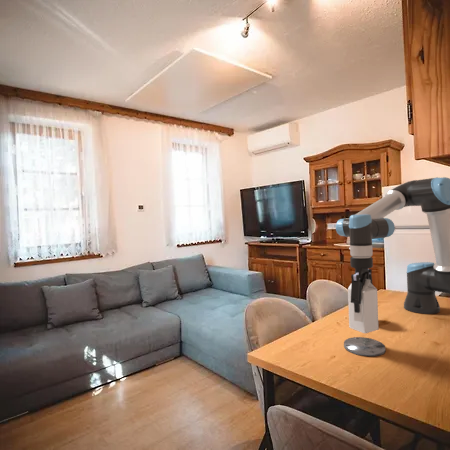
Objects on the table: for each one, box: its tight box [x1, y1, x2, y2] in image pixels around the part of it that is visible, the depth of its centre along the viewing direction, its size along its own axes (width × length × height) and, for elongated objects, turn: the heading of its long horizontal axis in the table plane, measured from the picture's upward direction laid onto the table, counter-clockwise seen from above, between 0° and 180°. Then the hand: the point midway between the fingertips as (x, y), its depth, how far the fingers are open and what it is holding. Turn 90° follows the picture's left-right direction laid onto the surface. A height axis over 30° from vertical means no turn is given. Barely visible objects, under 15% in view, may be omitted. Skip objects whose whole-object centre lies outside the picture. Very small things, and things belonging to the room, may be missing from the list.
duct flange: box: [343, 336, 386, 358], centre depth 116 cm, size 14×14×1 cm
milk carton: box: [347, 279, 379, 334], centre depth 115 cm, size 7×7×19 cm
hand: (363, 317), depth 116 cm, fingers closed on milk carton, 9 cm apart
